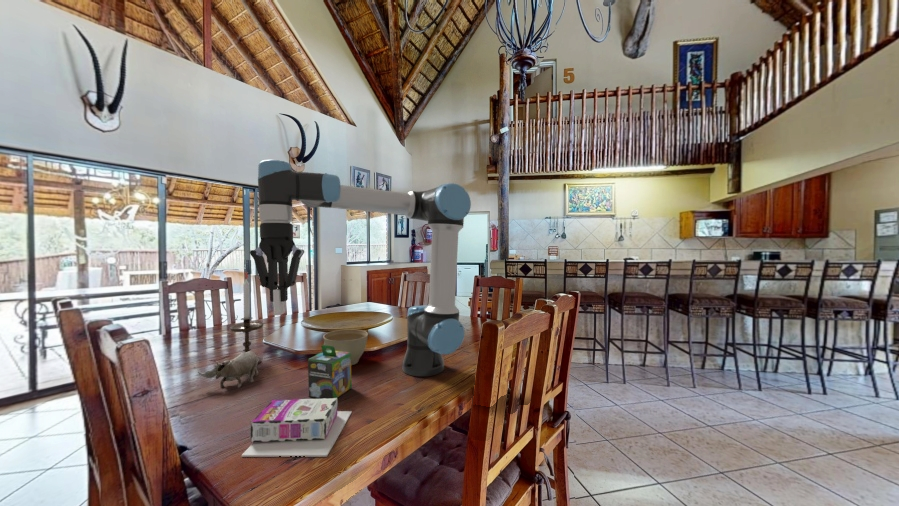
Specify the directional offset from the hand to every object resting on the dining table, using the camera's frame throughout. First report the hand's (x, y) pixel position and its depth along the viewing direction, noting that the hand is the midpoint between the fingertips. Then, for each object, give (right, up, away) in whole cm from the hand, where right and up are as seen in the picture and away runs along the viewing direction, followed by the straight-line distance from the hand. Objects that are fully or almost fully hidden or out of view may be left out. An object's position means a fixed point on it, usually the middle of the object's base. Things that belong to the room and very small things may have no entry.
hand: (279, 314), depth 83 cm
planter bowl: (+4, -26, +40) cm, 48 cm away
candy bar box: (-1, -24, -6) cm, 25 cm away
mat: (+9, -27, -6) cm, 29 cm away
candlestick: (-33, -26, +39) cm, 57 cm away
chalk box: (+8, -27, +15) cm, 32 cm away
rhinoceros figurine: (-25, -27, +21) cm, 42 cm away
